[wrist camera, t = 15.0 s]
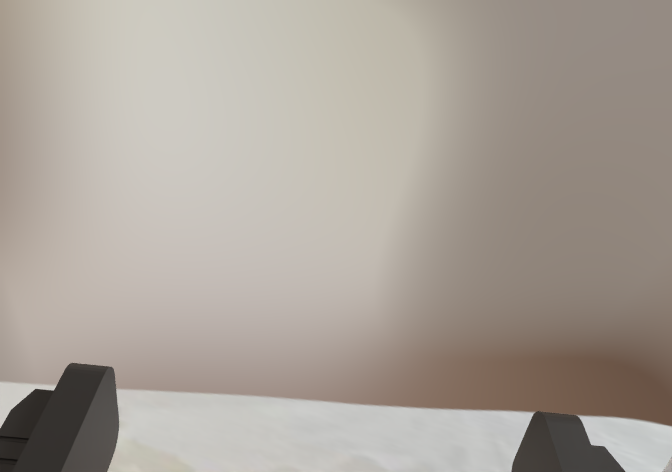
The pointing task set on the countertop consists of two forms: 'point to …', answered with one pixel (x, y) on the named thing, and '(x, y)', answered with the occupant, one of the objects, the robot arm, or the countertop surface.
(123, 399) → the countertop surface
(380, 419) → the countertop surface
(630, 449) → the countertop surface
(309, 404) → the countertop surface
